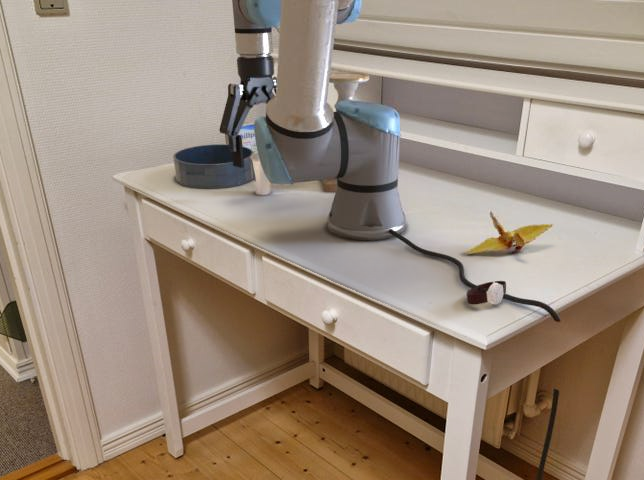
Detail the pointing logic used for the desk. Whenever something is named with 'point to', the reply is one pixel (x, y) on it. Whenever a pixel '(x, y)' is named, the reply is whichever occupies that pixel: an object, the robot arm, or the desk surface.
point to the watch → (487, 293)
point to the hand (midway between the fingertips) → (262, 160)
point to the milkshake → (259, 176)
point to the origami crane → (510, 237)
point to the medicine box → (246, 136)
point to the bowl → (211, 167)
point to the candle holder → (345, 89)
